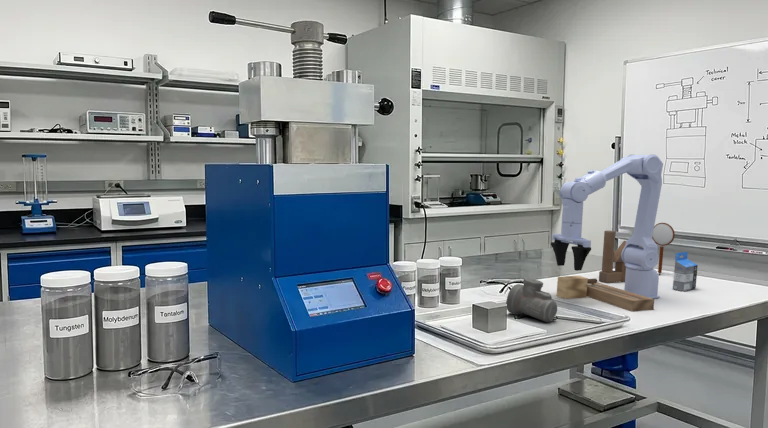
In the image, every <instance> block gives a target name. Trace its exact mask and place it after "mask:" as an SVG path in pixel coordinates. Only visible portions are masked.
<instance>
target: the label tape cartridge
mask: <svg viewBox="0 0 768 428" xmlns="http://www.w3.org/2000/svg"><path fill="white" fill-rule="evenodd" d="M674 255H675V257H674V258H675V259H674V261H675V262H674V268H673V269H674V270H673V283H672V290H673V289H674V290H673V291H677V290H678V291H679V292H682V291H684V292H687V290H688V291H692V290H695V288H696V287H697V277H698V264H697V263H695V262H694V261H691V260H690V259H688V255H689V254H688V251H682V252H676V253H675V254H674ZM681 256H682V257H681ZM691 289H692V290H691Z"/></svg>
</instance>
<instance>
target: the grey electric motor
mask: <svg viewBox="0 0 768 428" xmlns="http://www.w3.org/2000/svg"><path fill="white" fill-rule="evenodd" d="M522 283H523V284H521V283H516V284H514V285H513V286H512V287H511V288H510V289H509V291H508V293H507V297H506V302H505V305H506V304H507V308H506V310H507V312H508V313H510V314H512V315H515V316H516V315H517V316H518V315H521V314H524V315H527V316H529V317H532V318H534V319H537V320H540V321H542V322H545V323H550V322H551V321H553V319H555V317H556V315H557V313H558V305H557V302H556V301H555V300H554V299H552V295H551V293H550V292H546V291H544V290H542V288H543V287H544V282H543V281H541V280H538V279H535V278H529V277H525V278H523V282H522Z"/></svg>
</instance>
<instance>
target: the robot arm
mask: <svg viewBox="0 0 768 428" xmlns="http://www.w3.org/2000/svg"><path fill="white" fill-rule="evenodd" d="M663 167H664V163H663V161H662V160H661V158H660V157H659V156H658V155H656V154H628V155H627V156H624V157H622V158H621V159H619V160H618V161H617V162H615V163H612V164H611V165H609V166H608V167H606V168H604V169H602V170H601V171H599V170H597V169H590V170H588V171H587V173H586V174H585V175H583V176H580V177H579V176H578V177H575V178H574V181H567V182H565V183H563V185H562V186H561V188H560V190H558V194H559V197H560V199H561V204H562V212H561V227H560V231H561V232H560V234H559V233H552V235H551V240H552V241H551V242H550V246H551V247H552V250H553V253H554V255H555V260H556V266H557V267H560V266H562V267H563V266H565V263H566V257H567V256H566V255H567V252H568V248H569V246H570V244H571V245H573V246H571V250H572V255H573V270H574V271H578V272H579V271H582V270H583V267H584V263H585V261H586V258H587V257H588V256H589V253H590V252H591V251H592V247H591V245H592V240H590V239H586V238H583V237H582V230H583V227H582V226H583V215H584V214H583V213H584V202H585V201H586V200H587V199H588V197H589V195H592V194H594V193H595V192H598V191H599V190H601V189H603V188H604V187H606V184H607V182H609V181H611V180H613V179H615V178H617V177H619V176H622V175H625V174H627V175H628V176H629V177H631V178H632V179H634V180H635V181H637V183H638V184H639V185H640V186H641V189H640V193H639V199H638V204H637V210H636V216H635V222H634V228H633V233H632V236H631V237H630V238H628V239H627V240H625V241H626V245H625V247H624V249H623V250H622V254H621V258H622V260H623V262H624V263H625V266H626V275H625V282H624V288H623V290H625V291H628V292H632V293H635V294H639V295H642V296H645V297H649V298H652V299H657V298H658V299H659V298H660V296H659V295H658V294H659V292H658V291H659V280H660V279H659V278H660V277H659V276H660V275H659V273H658V270H656V269H654V268H655V267H656V266H657V264H658V263H659V254H658V248H659V246H658V244H657V243H655V242H654V240H653V239H652V236H653V230H654V226H655V225H656V219H657V214H658V213H657V212H658V208H659V203H660V196H661V192H662V191H661V190H662V185H663V178H662V172H663Z"/></svg>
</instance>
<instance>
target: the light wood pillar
mask: <svg viewBox="0 0 768 428" xmlns="http://www.w3.org/2000/svg"><path fill="white" fill-rule="evenodd" d="M597 282H598V278H588V277H584V276H581V275H567V276H566V275H565V276H557V282H556V283H557V284H556V296H557V297H559V298H562V299H565V300H567V299H582V298H585V299H586V298H587V283H592V284H593V285H594V283H597Z"/></svg>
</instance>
